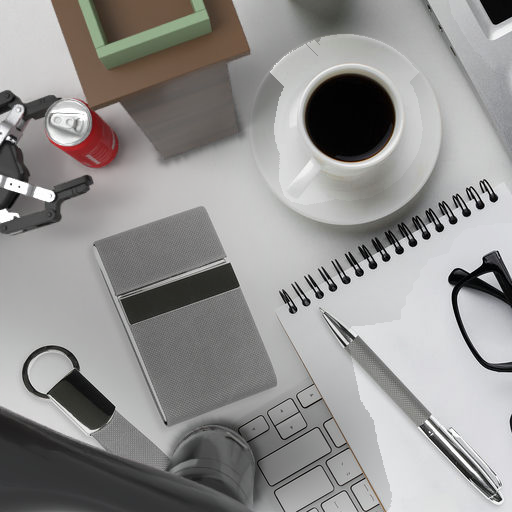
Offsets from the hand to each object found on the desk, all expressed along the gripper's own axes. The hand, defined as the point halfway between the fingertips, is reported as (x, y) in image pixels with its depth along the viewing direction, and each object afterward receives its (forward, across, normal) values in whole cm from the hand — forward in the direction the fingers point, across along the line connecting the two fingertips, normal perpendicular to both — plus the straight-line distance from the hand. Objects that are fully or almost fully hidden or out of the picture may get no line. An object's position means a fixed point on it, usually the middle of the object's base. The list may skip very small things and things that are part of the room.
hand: (77, 140), depth 70 cm
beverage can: (+1, 0, +7) cm, 7 cm away
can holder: (+12, +1, -22) cm, 25 cm away
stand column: (+12, +1, +7) cm, 14 cm away
